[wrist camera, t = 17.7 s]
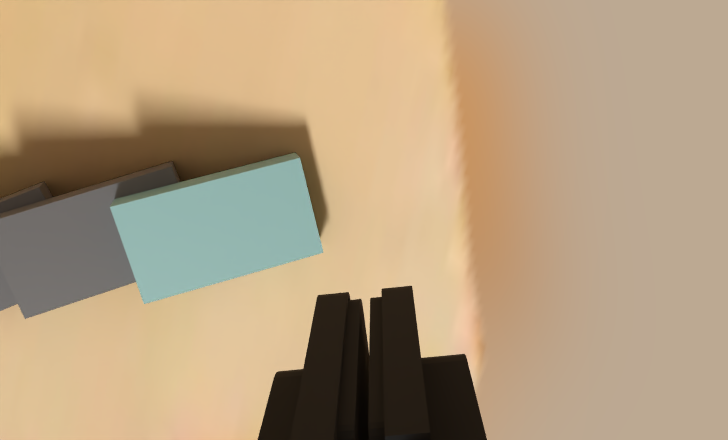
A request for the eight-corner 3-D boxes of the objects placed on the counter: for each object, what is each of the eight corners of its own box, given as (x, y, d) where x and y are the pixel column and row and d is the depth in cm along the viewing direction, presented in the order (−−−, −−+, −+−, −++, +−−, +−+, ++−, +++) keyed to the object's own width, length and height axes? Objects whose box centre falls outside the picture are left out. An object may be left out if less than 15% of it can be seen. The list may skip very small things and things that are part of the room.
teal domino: (295, 152, 32) (114, 199, 31) (300, 157, 31) (110, 207, 29) (317, 243, 34) (146, 291, 32) (323, 252, 32) (144, 304, 31)
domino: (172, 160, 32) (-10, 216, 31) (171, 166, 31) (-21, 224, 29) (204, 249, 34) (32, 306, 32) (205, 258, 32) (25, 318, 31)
